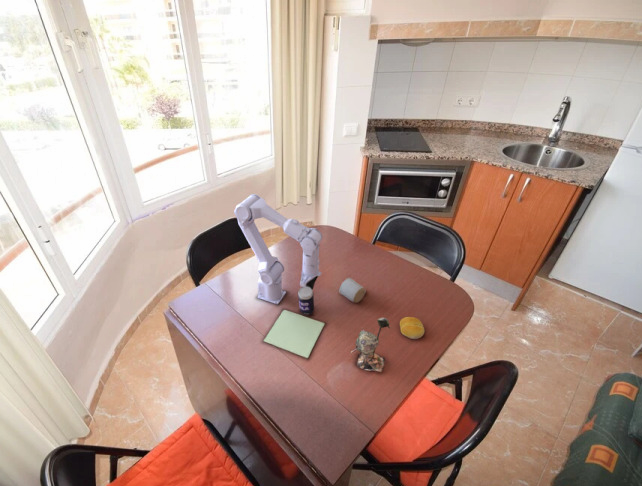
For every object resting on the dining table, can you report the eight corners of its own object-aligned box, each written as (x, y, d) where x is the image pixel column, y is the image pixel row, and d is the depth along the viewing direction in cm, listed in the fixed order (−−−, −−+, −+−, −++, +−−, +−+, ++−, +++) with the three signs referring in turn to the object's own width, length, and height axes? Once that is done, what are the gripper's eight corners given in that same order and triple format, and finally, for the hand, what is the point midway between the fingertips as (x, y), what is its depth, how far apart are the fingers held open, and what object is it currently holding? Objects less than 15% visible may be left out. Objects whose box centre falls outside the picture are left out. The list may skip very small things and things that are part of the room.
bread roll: (401, 338, 115) (403, 331, 112) (398, 320, 122) (400, 312, 119) (425, 341, 113) (428, 334, 111) (421, 322, 120) (423, 315, 118)
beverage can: (299, 305, 129) (296, 286, 120) (313, 302, 129) (311, 284, 120) (301, 317, 125) (298, 298, 116) (315, 314, 125) (314, 296, 116)
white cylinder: (353, 307, 128) (356, 292, 123) (338, 296, 133) (339, 282, 129) (370, 295, 133) (372, 280, 129) (354, 285, 139) (356, 271, 134)
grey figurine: (356, 345, 113) (363, 304, 101) (388, 360, 107) (399, 319, 96) (346, 361, 107) (352, 320, 96) (379, 379, 102) (390, 337, 90)
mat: (263, 341, 115) (263, 340, 115) (284, 310, 128) (283, 309, 127) (307, 358, 109) (307, 358, 109) (324, 323, 121) (324, 323, 121)
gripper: (313, 276, 108) (312, 305, 116) (328, 253, 119) (325, 281, 126) (294, 270, 111) (294, 299, 119) (310, 248, 121) (309, 276, 129)
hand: (309, 289), depth 123 cm, fingers closed
